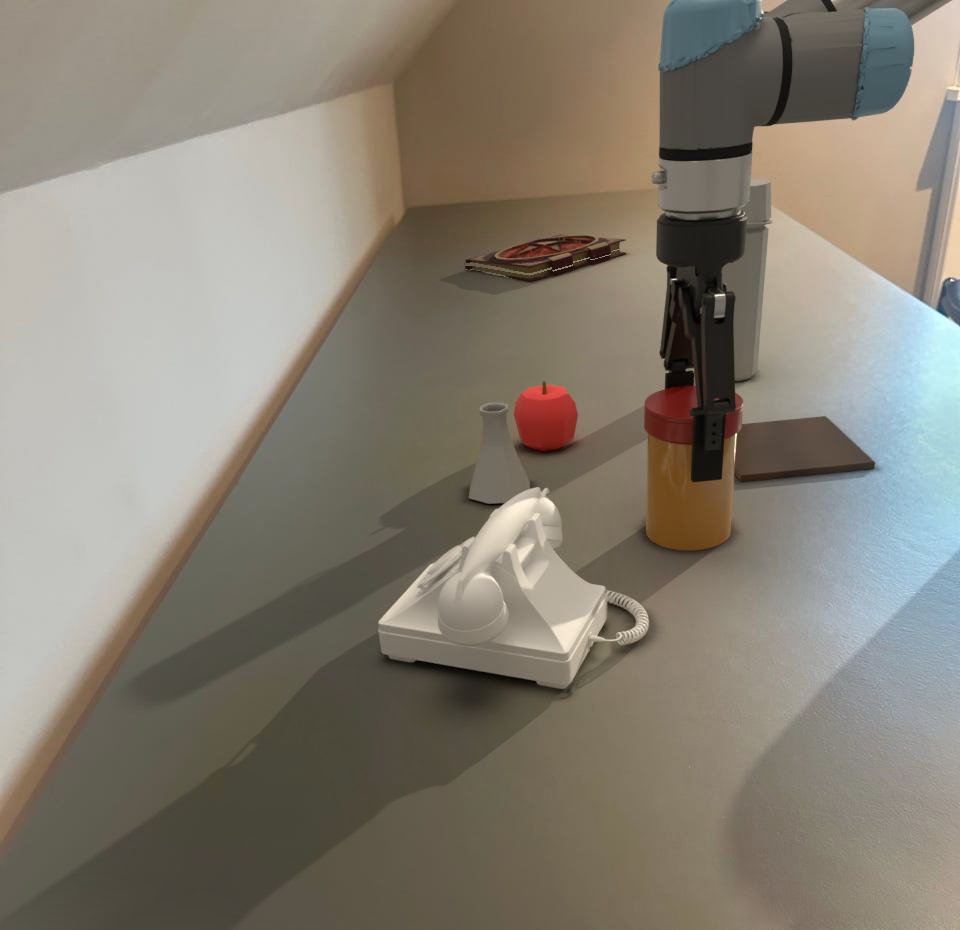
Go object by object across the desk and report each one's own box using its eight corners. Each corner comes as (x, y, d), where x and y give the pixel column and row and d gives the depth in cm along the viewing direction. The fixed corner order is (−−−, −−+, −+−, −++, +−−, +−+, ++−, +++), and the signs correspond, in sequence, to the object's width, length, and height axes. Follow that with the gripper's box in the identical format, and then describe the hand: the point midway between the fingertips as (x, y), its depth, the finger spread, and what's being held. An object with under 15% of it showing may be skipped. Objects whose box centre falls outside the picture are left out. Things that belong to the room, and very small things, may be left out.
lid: (727, 405, 96) (728, 381, 95) (755, 438, 89) (757, 412, 87) (635, 414, 96) (635, 390, 95) (655, 448, 88) (656, 422, 87)
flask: (520, 508, 106) (514, 420, 100) (458, 503, 108) (450, 417, 103) (539, 481, 112) (535, 397, 106) (481, 477, 114) (474, 394, 108)
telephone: (473, 548, 99) (463, 431, 92) (677, 573, 91) (681, 448, 84) (355, 686, 80) (331, 551, 73) (600, 732, 72) (598, 587, 65)
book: (559, 249, 223) (558, 226, 220) (629, 256, 208) (628, 231, 206) (465, 275, 208) (463, 250, 205) (534, 284, 194) (532, 257, 191)
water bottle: (756, 384, 133) (773, 186, 120) (698, 382, 136) (708, 188, 122) (763, 364, 141) (778, 174, 127) (707, 362, 143) (717, 176, 130)
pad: (824, 421, 120) (825, 415, 120) (874, 468, 108) (875, 462, 107) (705, 433, 120) (705, 427, 120) (740, 482, 107) (741, 475, 107)
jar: (717, 509, 102) (725, 389, 95) (740, 546, 95) (750, 418, 88) (638, 517, 102) (639, 397, 95) (655, 554, 95) (658, 427, 88)
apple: (538, 462, 116) (535, 397, 112) (502, 443, 122) (498, 381, 118) (591, 445, 120) (590, 381, 115) (554, 427, 125) (551, 366, 121)
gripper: (631, 194, 92) (629, 419, 104) (692, 240, 72) (681, 510, 84) (709, 187, 92) (699, 412, 104) (791, 231, 72) (766, 502, 84)
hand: (691, 456), depth 94 cm, fingers open, 10 cm apart
